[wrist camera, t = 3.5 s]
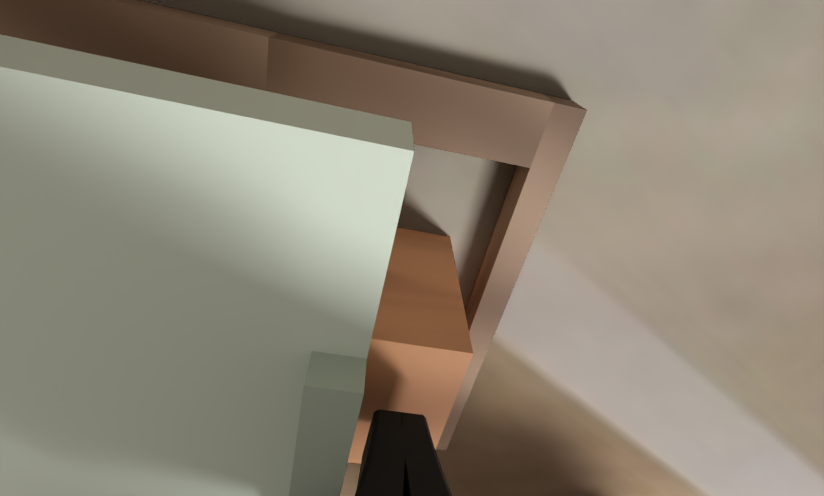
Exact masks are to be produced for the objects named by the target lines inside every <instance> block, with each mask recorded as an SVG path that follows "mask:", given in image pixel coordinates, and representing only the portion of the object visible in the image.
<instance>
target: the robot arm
mask: <svg viewBox="0 0 824 496" xmlns="http://www.w3.org/2000/svg"><path fill="white" fill-rule="evenodd" d="M355 496H452V495H451V492H450V490H449V487H448V485H447V482H446V479H445V477H444V474H443V471H442V468H441V465H440V462H439V460H438V457H437V454H436V451H435V447H434V444H433V441H432V438H431V434H430V431H429V427H428V424H427V420H426V418H425V416H424V415H420V414H412V413H404V412H396V411H388V410H380V409H379V410H377V411H375V412H374V413H373V417H372V421H371V424H370V428H369V432H368V436H367V439H366V443H365V447H364V451H363V454H362V461H361V468H360V474H359V480H358V486H357V491H356V494H355Z"/></svg>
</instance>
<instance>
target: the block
mask: <svg viewBox="0 0 824 496" xmlns="http://www.w3.org/2000/svg"><path fill="white" fill-rule="evenodd" d="M472 356H473V349H472V344H471V339H470V334H469V329H468V324H467V319H466V314H465V309H464V304H463V299H462V294H461V289H460V284H459V280H458V275H457V270H456V265H455V260H454V255H453V250H452V245H451V240H450V237H448V236H443V235H437V234H432V233H426V232H421V231H415V230H410V229H404V228H399V227H397V229H396V233H395V237H394V242H393V246H392V251H391V255H390V259H389V264H388V268H387V272H386V277H385V281H384V286H383V290H382V294H381V299H380V303H379V307H378V312H377V316H376V321H375V325H374V329H373V334H372V338H371V342H370V347H369V351H368V356H367V362H366V374H365V386H364V395H363V399H362V404H361V408H360V412H359V416H358V421H357V425H356V429H355V433H354V437H353V442H352V446H351V450H350V454H349V459H348V462H350V463H359V464H361V461H362V454H363V451H364V447H365V443H366V439H367V436H368V432H369V428H370V424H371V421H372V417H373V413H374V412H375V411H377V410H379V409H380V410H388V411H396V412H404V413H412V414H420V415H424V416H425V418H426V420H427V424H428V427H429V431H430V434H431V438H432V441H433V444H434V447H435V450H436V447H437V445H438V442H439V440H440V437H441V434H442V432H443V429H444V427H445V424H446V422H447V419H448V417H449V414H450V412H451V409H452V407H453V404H454V402H455V399H456V397H457V394H458V392H459V389H460V386H461V384H462V381H463V379H464V376H465V374H466V371H467V369H468V366H469V364H470V361H471V359H472Z"/></svg>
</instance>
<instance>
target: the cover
mask: <svg viewBox="0 0 824 496" xmlns="http://www.w3.org/2000/svg"><path fill="white" fill-rule="evenodd" d="M413 154H414V144H413V134H412V124H411V122H409V121H404V120H399V119H395V118H390V117H385V116H381V115H376V114H371V113H366V112H362V111H357V110H352V109H348V108H343V107H338V106H334V105H329V104H324V103H320V102H315V101H310V100H306V99H301V98H296V97H292V96H287V95H282V94H277V93H273V92H268V91H263V90H259V89H254V88H249V87H245V86H240V85H235V84H231V83H226V82H221V81H217V80H212V79H207V78H202V77H198V76H193V75H188V74H184V73H179V72H174V71H170V70H165V69H160V68H156V67H151V66H146V65H142V64H137V63H132V62H127V61H123V60H118V59H113V58H109V57H104V56H99V55H95V54H90V53H85V52H81V51H76V50H71V49H67V48H62V47H57V46H53V45H48V44H43V43H38V42H34V41H29V40H24V39H20V38H15V37H10V36H6V35H1V34H0V496H340V492H341V488H342V484H343V480H344V475H345V471H346V467H347V463H348V459H349V454H350V450H351V446H352V442H353V437H354V433H355V429H356V425H357V421H358V416H359V412H360V408H361V404H362V399H363V395H364V386H365V374H366V362H367V356H368V351H369V347H370V342H371V338H372V334H373V329H374V325H375V321H376V316H377V312H378V307H379V303H380V299H381V294H382V290H383V286H384V281H385V277H386V272H387V268H388V264H389V259H390V255H391V251H392V246H393V242H394V237H395V233H396V229H397V224H398V220H399V216H400V211H401V207H402V202H403V198H404V194H405V189H406V185H407V181H408V176H409V172H410V167H411V163H412V159H413Z"/></svg>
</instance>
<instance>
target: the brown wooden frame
mask: <svg viewBox="0 0 824 496" xmlns="http://www.w3.org/2000/svg"><path fill="white" fill-rule="evenodd" d="M0 34H1V35H6V36H10V37H15V38H20V39H24V40H29V41H34V42H38V43H43V44H48V45H53V46H57V47H62V48H67V49H71V50H76V51H81V52H85V53H90V54H95V55H99V56H104V57H109V58H113V59H118V60H123V61H127V62H132V63H137V64H142V65H146V66H151V67H156V68H160V69H165V70H170V71H174V72H179V73H184V74H188V75H193V76H198V77H202V78H207V79H212V80H217V81H221V82H226V83H231V84H235V85H240V86H245V87H249V88H254V89H259V90H263V91H268V92H273V93H277V94H282V95H287V96H292V97H296V98H301V99H306V100H310V101H315V102H320V103H324V104H329V105H334V106H338V107H343V108H348V109H352V110H357V111H362V112H366V113H371V114H376V115H381V116H385V117H390V118H395V119H399V120H404V121H409V122H411V124H412V134H413V144H416V145H421V146H426V147H431V148H436V149H440V150H445V151H450V152H455V153H460V154H465V155H469V156H474V157H479V158H484V159H489V160H494V161H498V162H503V163H508V164H513V165H517V167H516V170H515V173H514V176H513V179H512V181H511V184H510V187H509V190H508V193H507V195H506V198H505V201H504V204H503V207H502V209H501V212H500V215H499V218H498V221H497V223H496V226H495V229H494V232H493V235H492V237H491V240H490V243H489V246H488V249H487V251H486V254H485V257H484V260H483V263H482V265H481V268H480V271H479V274H478V277H477V279H476V282H475V285H474V288H473V291H472V293H471V296H470V299H469V302H468V305H467V308H466V310H465V314H466V319H467V324H468V329H469V334H470V339H471V344H472V349H473V356H472V359H471V361H470V364H469V366H468V369H467V371H466V374H465V376H464V379H463V381H462V384H461V386H460V389H459V392H458V394H457V397H456V399H455V402H454V404H453V407H452V409H451V412H450V414H449V417H448V419H447V422H446V424H445V427H444V429H443V432H442V434H441V437H440V440H439V442H438V445H437V447H436V449H439V450H447V448H448V445H449V443H450V440H451V438H452V436H453V433H454V431H455V428H456V426H457V423H458V421H459V419H460V416H461V414H462V411H463V409H464V406H465V404H466V402H467V399H468V397H469V394H470V392H471V390H472V387H473V385H474V382H475V380H476V377H477V375H478V373H479V370H480V368H481V365H482V363H483V361H484V358H485V356H486V353H487V351H488V348H489V346H490V344H491V341H492V339H493V336H494V334H495V331H496V329H497V327H498V324H499V322H500V319H501V317H502V315H503V312H504V310H505V307H506V305H507V302H508V300H509V298H510V295H511V293H512V290H513V288H514V285H515V283H516V281H517V278H518V276H519V273H520V271H521V269H522V266H523V264H524V261H525V259H526V256H527V254H528V252H529V249H530V247H531V244H532V242H533V240H534V237H535V235H536V232H537V230H538V227H539V225H540V223H541V220H542V218H543V215H544V213H545V210H546V208H547V206H548V203H549V201H550V198H551V196H552V194H553V191H554V189H555V186H556V184H557V181H558V179H559V177H560V174H561V172H562V169H563V167H564V164H565V162H566V160H567V157H568V155H569V152H570V150H571V148H572V145H573V143H574V140H575V138H576V135H577V133H578V131H579V128H580V126H581V123H582V121H583V118H584V116H585V114H586V111H587V110H586V109H584V108H583V107H581V106H580V105H578V104H577V103H575V102H574V101H572V100H567V99H563V98H559V97H554V96H550V95H546V94H541V93H537V92H533V91H528V90H524V89H520V88H515V87H511V86H507V85H502V84H498V83H494V82H490V81H485V80H481V79H477V78H472V77H468V76H464V75H459V74H455V73H451V72H446V71H442V70H438V69H433V68H429V67H425V66H420V65H416V64H412V63H407V62H403V61H399V60H395V59H390V58H386V57H382V56H377V55H373V54H369V53H364V52H360V51H356V50H351V49H347V48H343V47H338V46H334V45H330V44H325V43H321V42H317V41H312V40H308V39H304V38H300V37H295V36H291V35H287V34H282V33H278V32H274V31H269V30H265V29H261V28H256V27H252V26H248V25H243V24H239V23H235V22H230V21H226V20H222V19H217V18H213V17H209V16H204V15H200V14H196V13H192V12H187V11H183V10H179V9H174V8H170V7H166V6H161V5H157V4H153V3H148V2H144V1H140V0H0Z"/></svg>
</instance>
